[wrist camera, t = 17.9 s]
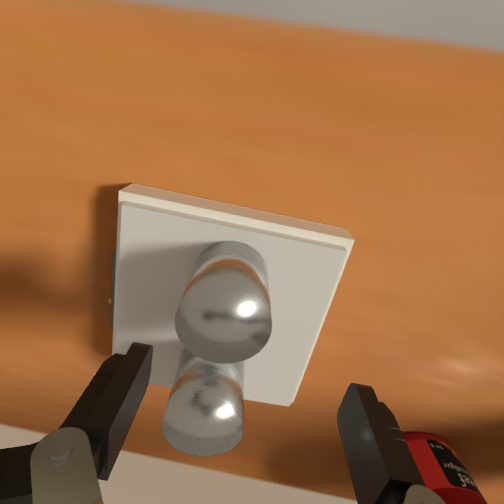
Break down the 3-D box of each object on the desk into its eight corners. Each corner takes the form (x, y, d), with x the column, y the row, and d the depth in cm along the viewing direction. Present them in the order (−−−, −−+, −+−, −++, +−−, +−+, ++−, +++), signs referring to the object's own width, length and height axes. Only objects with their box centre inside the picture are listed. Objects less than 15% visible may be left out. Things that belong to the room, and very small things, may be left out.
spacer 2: (251, 344, 20) (252, 409, 16) (235, 390, 22) (232, 461, 18) (186, 330, 20) (168, 394, 15) (175, 379, 22) (156, 449, 17)
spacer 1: (275, 249, 18) (282, 294, 13) (258, 311, 19) (259, 370, 15) (200, 233, 17) (180, 274, 13) (189, 298, 19) (169, 354, 14)
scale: (344, 228, 20) (358, 245, 17) (289, 380, 26) (294, 412, 23) (124, 181, 19) (102, 191, 16) (116, 351, 25) (98, 380, 22)
